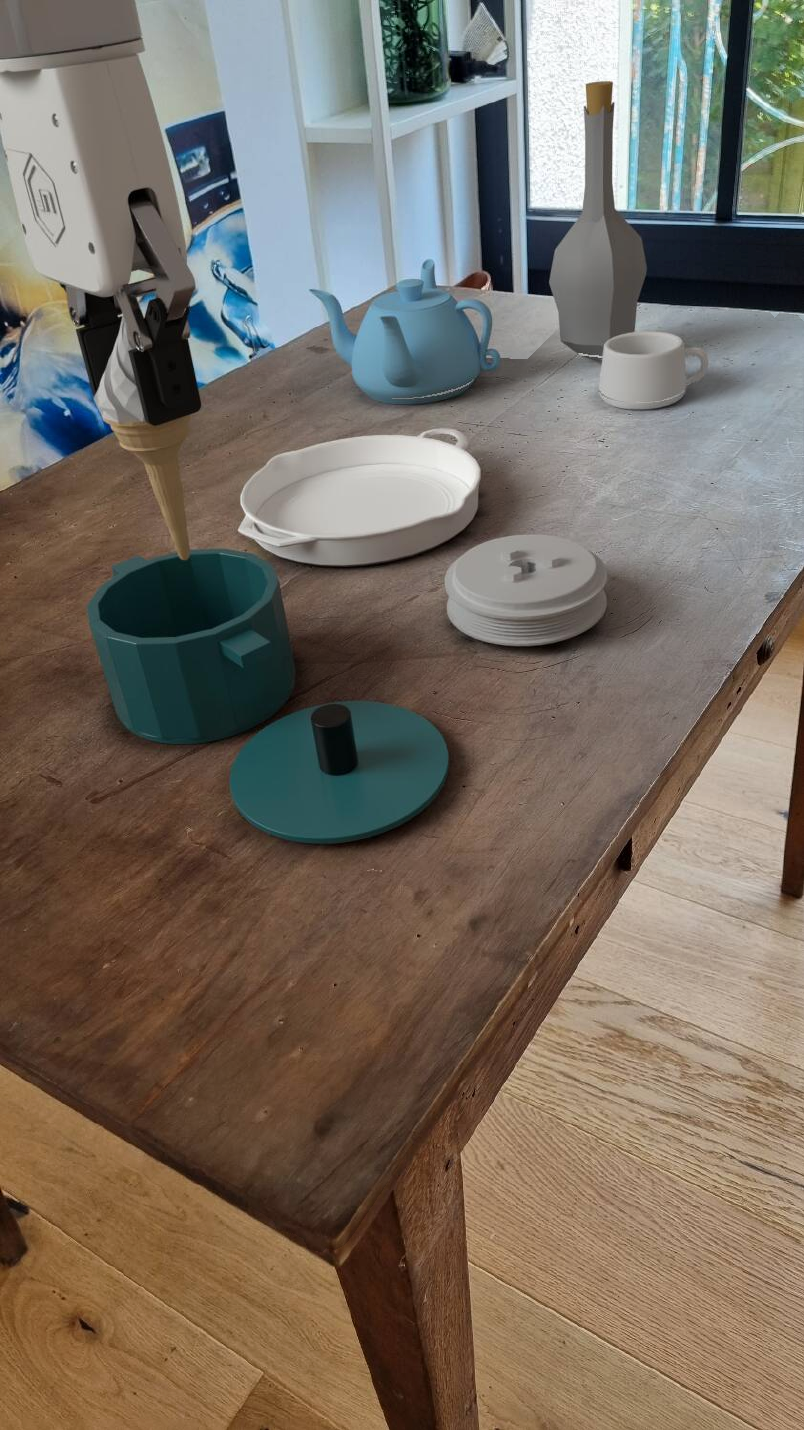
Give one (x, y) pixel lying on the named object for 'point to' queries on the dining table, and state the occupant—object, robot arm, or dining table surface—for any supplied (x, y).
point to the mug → (646, 369)
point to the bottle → (597, 247)
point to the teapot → (413, 342)
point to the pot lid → (339, 772)
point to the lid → (526, 590)
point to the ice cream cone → (145, 437)
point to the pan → (362, 499)
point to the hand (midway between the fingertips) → (146, 401)
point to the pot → (193, 644)
